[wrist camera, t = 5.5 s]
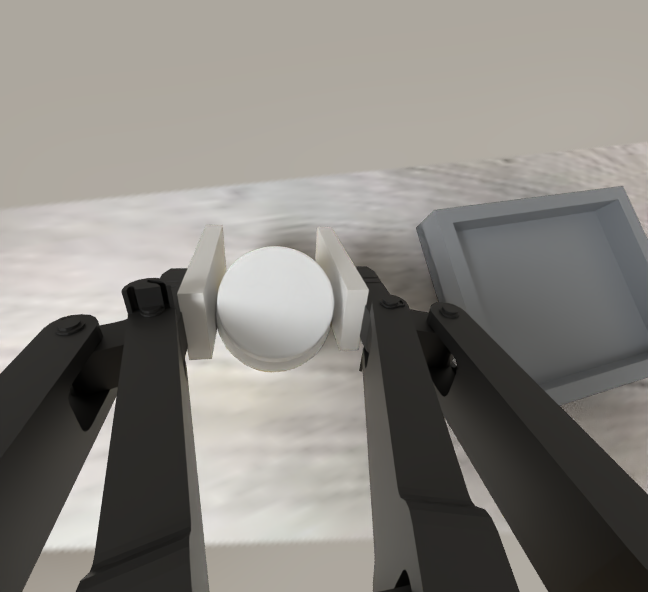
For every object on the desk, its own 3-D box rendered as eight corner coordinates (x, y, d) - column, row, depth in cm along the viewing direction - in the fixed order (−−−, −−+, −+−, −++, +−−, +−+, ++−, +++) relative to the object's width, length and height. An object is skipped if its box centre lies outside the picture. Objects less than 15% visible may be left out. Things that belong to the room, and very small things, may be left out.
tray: (474, 417, 20) (503, 423, 17) (416, 227, 22) (434, 210, 20) (658, 360, 23) (703, 359, 21) (589, 203, 26) (622, 186, 23)
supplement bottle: (215, 316, 18) (177, 269, 10) (286, 279, 20) (301, 212, 12) (255, 389, 18) (248, 400, 10) (326, 346, 19) (371, 324, 11)
